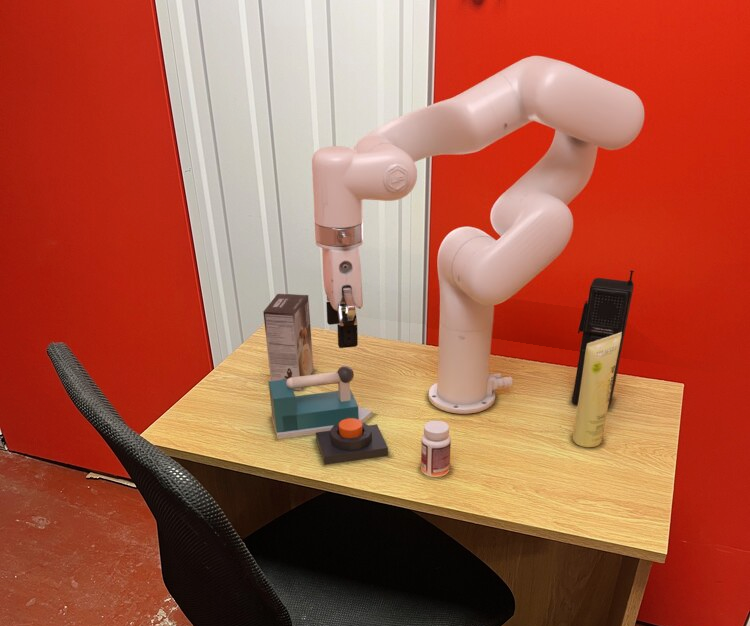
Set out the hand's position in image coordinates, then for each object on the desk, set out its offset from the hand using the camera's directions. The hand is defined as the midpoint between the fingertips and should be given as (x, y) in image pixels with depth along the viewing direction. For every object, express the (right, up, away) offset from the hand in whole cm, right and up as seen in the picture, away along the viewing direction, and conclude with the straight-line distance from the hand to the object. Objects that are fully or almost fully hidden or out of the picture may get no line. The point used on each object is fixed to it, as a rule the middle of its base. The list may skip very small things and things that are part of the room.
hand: (342, 334), depth 132 cm
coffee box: (-11, -4, +23) cm, 26 cm away
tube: (+42, -18, +3) cm, 46 cm away
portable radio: (+46, -10, +14) cm, 49 cm away
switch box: (+1, -19, +2) cm, 19 cm away
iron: (-4, -14, +9) cm, 17 cm away
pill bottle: (+15, -23, -4) cm, 28 cm away
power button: (+1, -17, 0) cm, 17 cm away
